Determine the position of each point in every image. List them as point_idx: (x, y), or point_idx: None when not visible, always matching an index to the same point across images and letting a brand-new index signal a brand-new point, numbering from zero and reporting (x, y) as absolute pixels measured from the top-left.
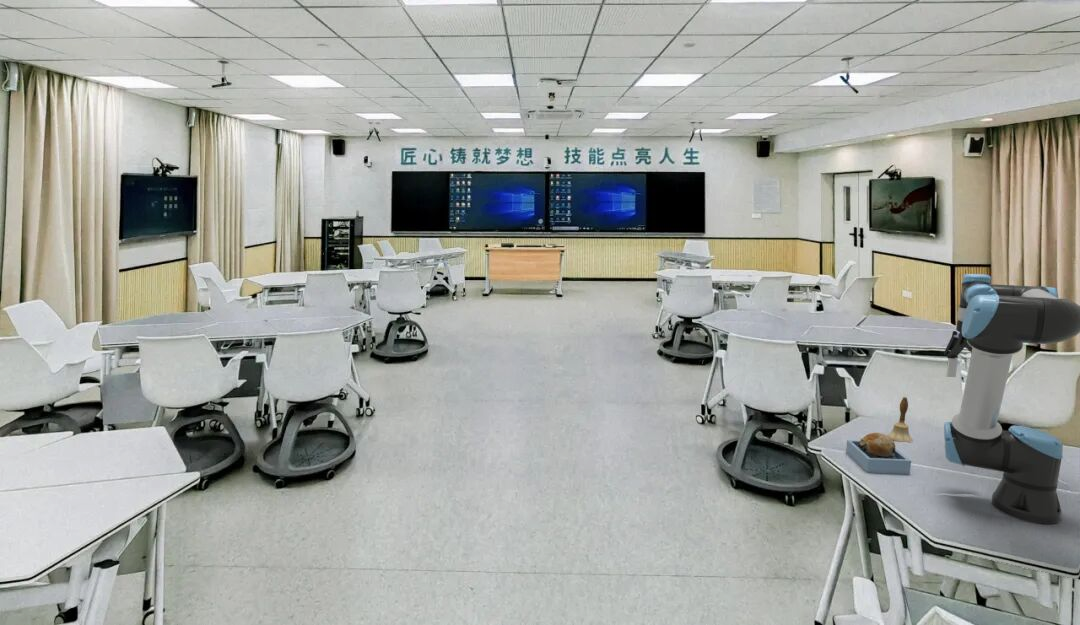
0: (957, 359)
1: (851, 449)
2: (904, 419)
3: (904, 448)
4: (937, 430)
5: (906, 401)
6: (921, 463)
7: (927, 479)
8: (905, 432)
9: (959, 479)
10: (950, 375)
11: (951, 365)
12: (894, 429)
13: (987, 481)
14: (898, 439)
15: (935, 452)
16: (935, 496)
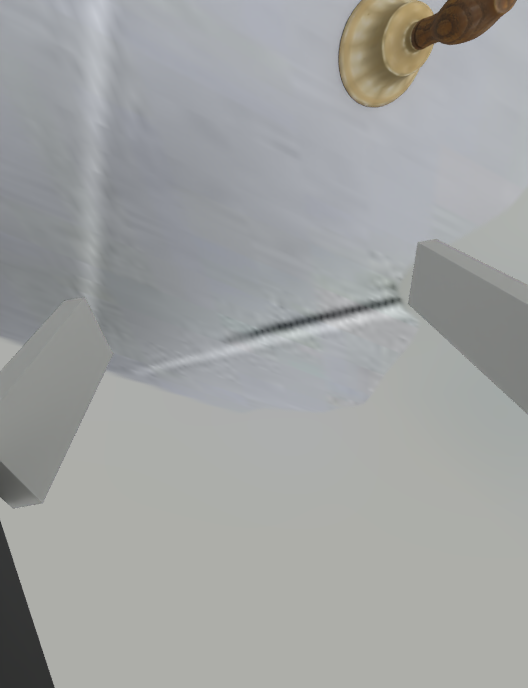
0: (524, 407)
1: None
2: (417, 44)
3: (276, 15)
4: (440, 238)
5: (475, 10)
6: (123, 16)
7: None
8: (370, 55)
9: (18, 113)
10: (422, 270)
11: (485, 312)
12: (400, 4)
13: (53, 206)
14: (352, 22)
15: (257, 142)
16: None
